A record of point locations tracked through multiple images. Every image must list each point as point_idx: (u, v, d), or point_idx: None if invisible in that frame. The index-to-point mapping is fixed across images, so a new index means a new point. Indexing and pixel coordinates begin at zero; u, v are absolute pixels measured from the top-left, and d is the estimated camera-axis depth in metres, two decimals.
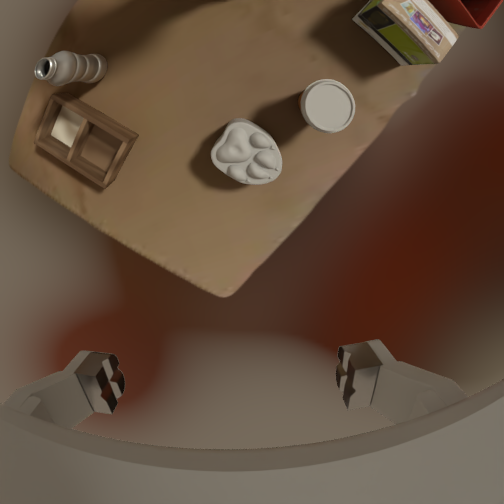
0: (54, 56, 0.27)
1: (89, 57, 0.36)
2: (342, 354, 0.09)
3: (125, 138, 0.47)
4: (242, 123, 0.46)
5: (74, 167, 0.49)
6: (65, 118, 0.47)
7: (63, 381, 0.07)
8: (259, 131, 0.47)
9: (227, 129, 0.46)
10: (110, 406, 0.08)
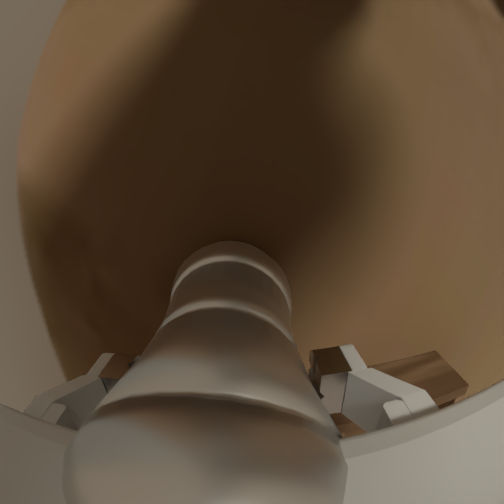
0: None
1: (236, 286, 0.10)
2: (312, 357, 0.09)
3: (460, 390, 0.15)
4: None
5: None
6: None
7: (88, 385, 0.07)
8: None
9: None
10: None
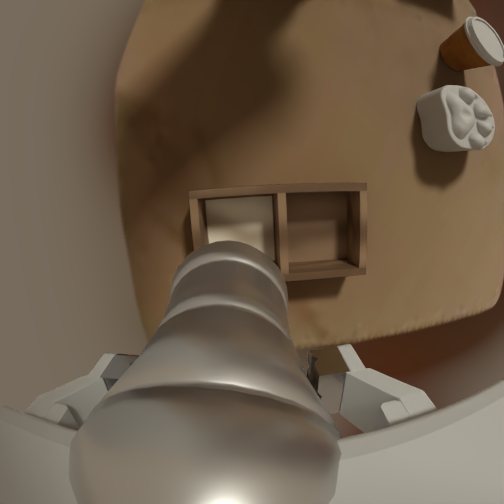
0: None
1: (235, 284, 0.11)
2: (310, 358, 0.09)
3: (360, 184, 0.33)
4: (446, 86, 0.28)
5: (302, 276, 0.36)
6: (224, 225, 0.39)
7: (89, 385, 0.07)
8: (460, 86, 0.28)
9: (443, 100, 0.29)
10: None
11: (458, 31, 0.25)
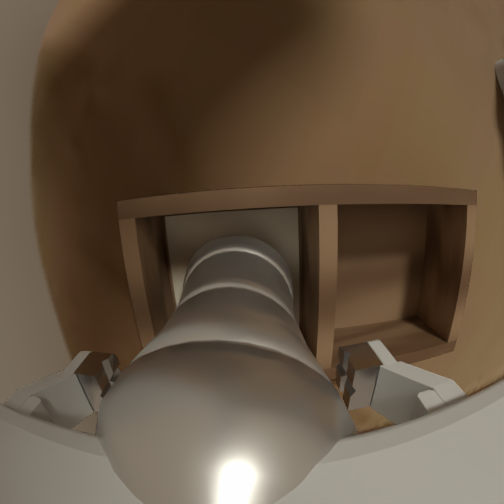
0: (143, 498, 0.03)
1: (245, 271, 0.12)
2: (342, 354, 0.09)
3: (468, 193, 0.14)
4: None
5: None
6: None
7: (63, 381, 0.07)
8: None
9: None
10: None
11: None
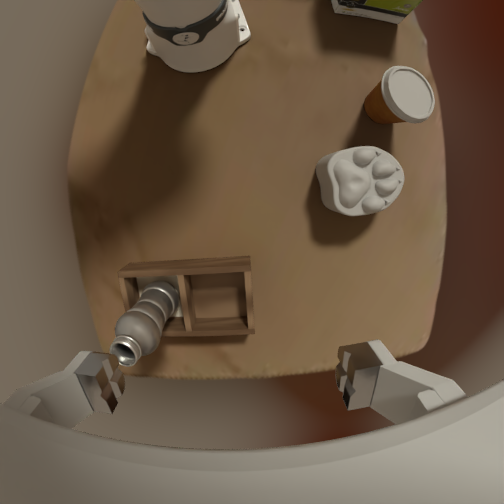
0: (121, 329, 0.32)
1: (152, 296, 0.42)
2: (342, 354, 0.09)
3: (244, 266, 0.43)
4: (336, 154, 0.38)
5: (202, 333, 0.46)
6: None
7: (63, 381, 0.07)
8: (355, 148, 0.38)
9: (329, 172, 0.39)
10: (110, 406, 0.08)
11: (378, 86, 0.35)
